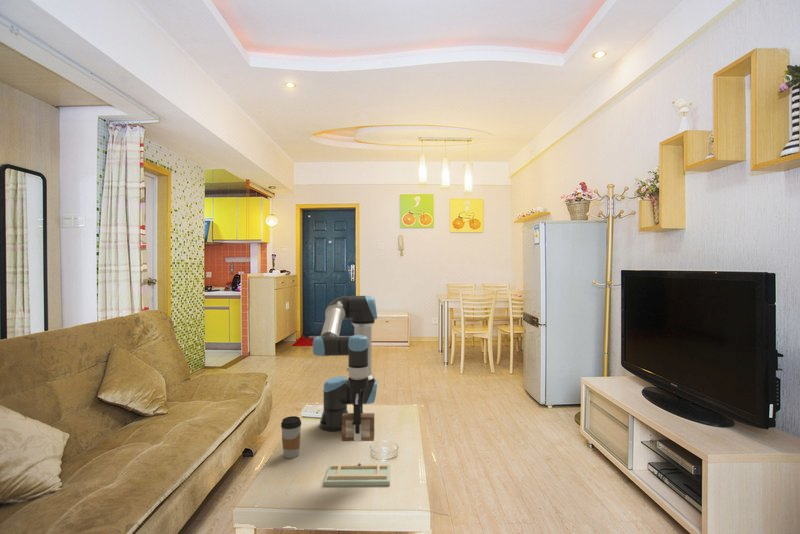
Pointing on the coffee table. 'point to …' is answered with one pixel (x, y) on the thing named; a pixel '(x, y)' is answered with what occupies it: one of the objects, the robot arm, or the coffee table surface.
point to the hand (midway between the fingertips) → (358, 438)
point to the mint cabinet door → (357, 475)
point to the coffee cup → (291, 436)
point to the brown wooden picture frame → (366, 427)
